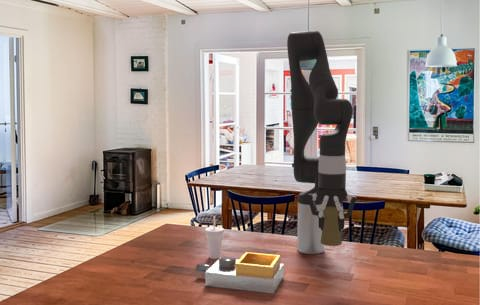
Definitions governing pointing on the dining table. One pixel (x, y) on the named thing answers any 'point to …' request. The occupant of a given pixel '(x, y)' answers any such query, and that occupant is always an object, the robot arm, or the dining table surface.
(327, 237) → the cork
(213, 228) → the smoothie
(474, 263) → the dining table surface
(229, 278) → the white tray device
